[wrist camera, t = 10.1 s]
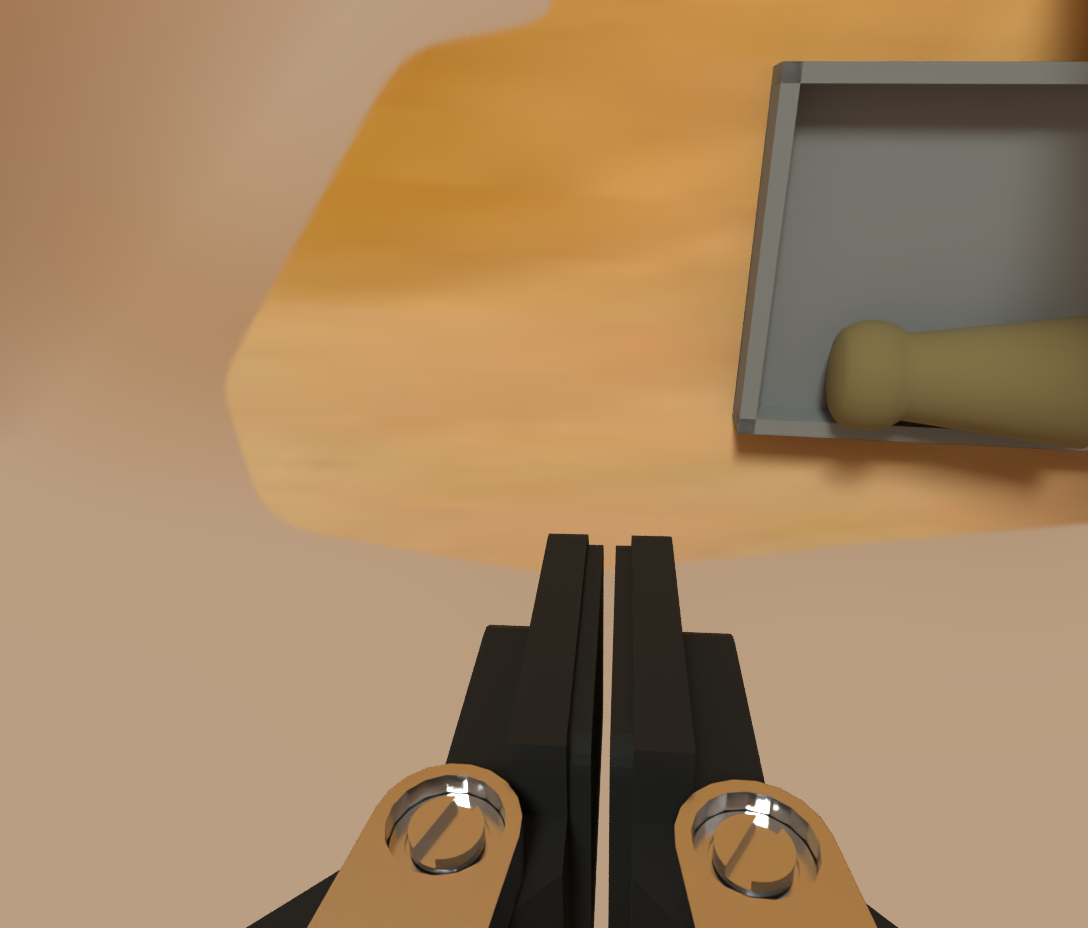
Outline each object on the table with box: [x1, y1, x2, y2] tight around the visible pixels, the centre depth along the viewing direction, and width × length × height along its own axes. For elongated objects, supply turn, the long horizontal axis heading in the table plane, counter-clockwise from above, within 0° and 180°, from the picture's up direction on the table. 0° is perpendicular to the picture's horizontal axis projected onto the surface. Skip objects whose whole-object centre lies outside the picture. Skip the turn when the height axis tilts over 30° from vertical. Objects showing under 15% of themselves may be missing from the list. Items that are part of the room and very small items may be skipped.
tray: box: [732, 61, 1088, 451], centre depth 34 cm, size 24×17×2 cm
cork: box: [825, 316, 1088, 449], centre depth 35 cm, size 6×6×11 cm
